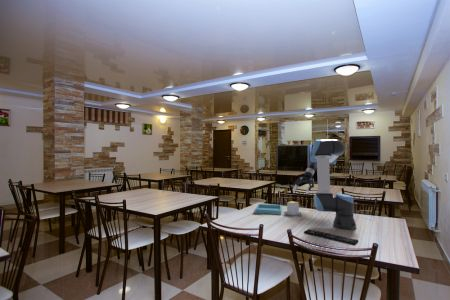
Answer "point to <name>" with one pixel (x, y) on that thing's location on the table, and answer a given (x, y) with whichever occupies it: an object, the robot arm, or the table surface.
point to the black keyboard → (331, 236)
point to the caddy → (292, 208)
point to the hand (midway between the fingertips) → (299, 192)
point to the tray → (268, 209)
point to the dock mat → (293, 215)
